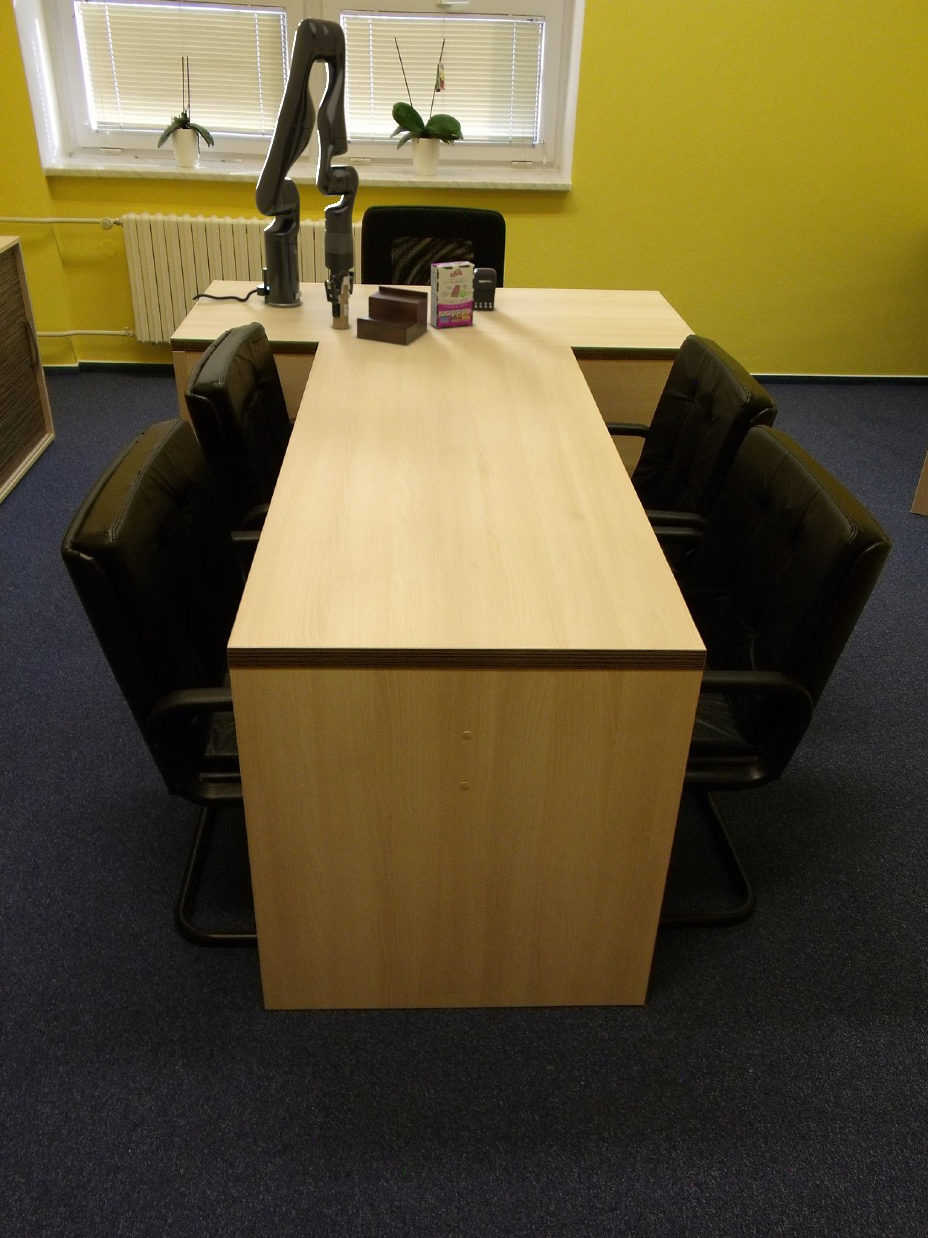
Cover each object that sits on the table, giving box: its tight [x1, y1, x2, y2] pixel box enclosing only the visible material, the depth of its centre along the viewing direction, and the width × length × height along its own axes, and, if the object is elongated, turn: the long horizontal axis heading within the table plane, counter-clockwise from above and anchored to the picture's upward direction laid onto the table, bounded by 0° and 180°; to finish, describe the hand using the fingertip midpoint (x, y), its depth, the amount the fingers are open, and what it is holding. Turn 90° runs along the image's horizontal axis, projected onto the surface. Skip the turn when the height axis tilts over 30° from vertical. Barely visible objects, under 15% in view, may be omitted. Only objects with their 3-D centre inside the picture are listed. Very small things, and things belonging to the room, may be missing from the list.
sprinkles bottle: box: [332, 276, 350, 330], centre depth 270 cm, size 5×5×14 cm
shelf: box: [356, 285, 429, 346], centre depth 267 cm, size 14×15×10 cm
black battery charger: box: [473, 267, 498, 311], centre depth 291 cm, size 7×4×11 cm, turn 95°
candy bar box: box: [429, 260, 476, 330], centre depth 275 cm, size 11×5×16 cm, turn 115°
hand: (340, 314), depth 272 cm, fingers closed on sprinkles bottle, 4 cm apart
